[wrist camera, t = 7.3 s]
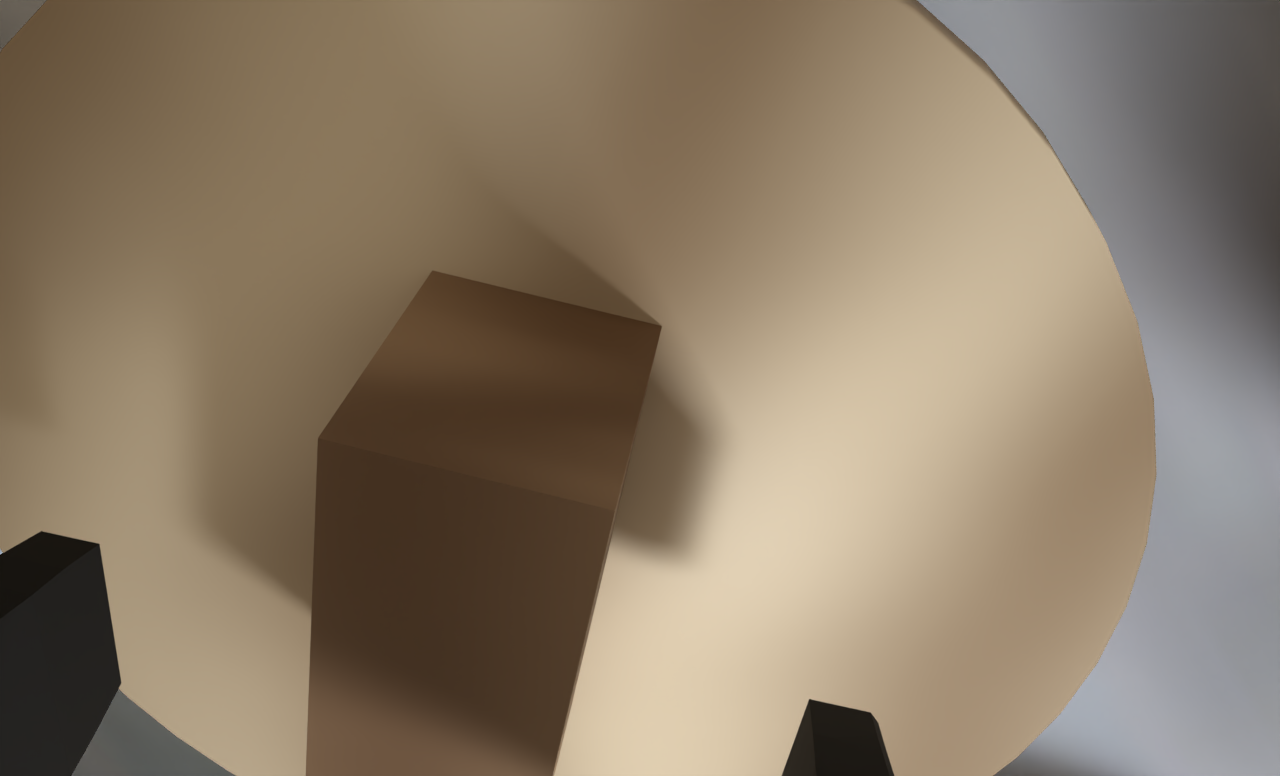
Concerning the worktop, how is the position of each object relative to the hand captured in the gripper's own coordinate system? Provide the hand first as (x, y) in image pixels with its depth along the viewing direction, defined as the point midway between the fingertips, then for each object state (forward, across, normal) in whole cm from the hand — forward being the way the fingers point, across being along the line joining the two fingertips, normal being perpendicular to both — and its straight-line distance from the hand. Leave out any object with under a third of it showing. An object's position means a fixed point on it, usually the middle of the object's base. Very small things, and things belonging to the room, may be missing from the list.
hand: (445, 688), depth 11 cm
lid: (+3, 0, 0) cm, 3 cm away
